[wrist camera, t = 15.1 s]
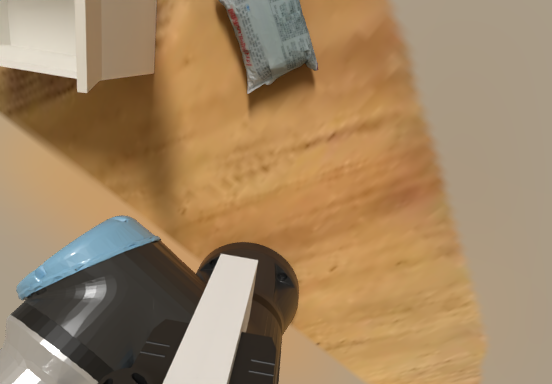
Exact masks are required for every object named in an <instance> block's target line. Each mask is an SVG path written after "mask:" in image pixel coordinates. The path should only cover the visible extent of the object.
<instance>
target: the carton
mask: <svg viewBox="0 0 552 384" xmlns="http://www.w3.org/2000/svg"><path fill="white" fill-rule="evenodd" d="M156 8H157V0H101V20H102V79H101V80H108V79H116V78H123V77H131V76H139V75H146V74H154V62H155V35H156ZM0 66H2V67H8V68H15V69H21V70H27V71H33V72H39V73H45V74H51V75H57V76H63V77H69V78H75V79H77V68H76V35H75V2H74V0H0Z"/></svg>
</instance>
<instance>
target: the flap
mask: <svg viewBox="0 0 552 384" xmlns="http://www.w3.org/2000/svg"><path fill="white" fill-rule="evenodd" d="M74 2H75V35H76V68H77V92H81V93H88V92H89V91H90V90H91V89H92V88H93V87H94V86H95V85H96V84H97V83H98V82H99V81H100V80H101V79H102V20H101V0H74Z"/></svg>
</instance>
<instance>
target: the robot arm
mask: <svg viewBox="0 0 552 384" xmlns="http://www.w3.org/2000/svg"><path fill="white" fill-rule="evenodd" d="M160 240H161V239H160V238H159V237H158V236H155V235H153V234H152V233H151V232H149V231H148V230H147V229H146V228H145V227H143V226H142V225H141V224H140V223H139V222H137V221H136V220H135V219H133V218H131V217H128V216H116V217H113V218H110V219H108V220H106V221H104V222H102V223H101V224H99V225H97V226H96V227H94V228H92V229H91V230H89V231H88V232H86V233H85V234H83V235H81V236H80V237H78V238H77V239H75V240H74V241H73V242H71V243H70V244H68V245H67V246H65V247H64V248H63V249H62V250H60V251H58V252H57V253H56V254H54V255H53V256H52V257H50V258H49V259H48V260H46V261H45V262H44V264H43V265H41V266H39V267H38V268H37V269H36V270H35V271H33V272H32V273H30V274H29V275H27V276H26V277H25V278H24V279H23V280H22V281H21V282H20V283H19V284H18V286H17V290H16V291H17V293H18V296H19V299H21V300H24V299H25V301H24V303H23V304H22V305H20V306H19V307H18V308H17V309H16V310H15V311H14V312H13V313H12V314H11V315H10V316H9V317H8V318H7V323H6V336H5V337H6V338H5V342H4V344H3V347H2V348H1V349H0V384H278V381H279V369H280V356H281V343H282V335H283V334H284V332H285V330H286V329H287V327H288V326H289V324H290V323H291V321H292V319H293V318H294V315H295V313H296V310H297V306H298V298H299V286H298V281H297V277H296V275H295V273H294V271H293V269H292V267H291V266H290V264H289V263H288V262H287V261H286V260H285V259H284V258H283V257H282V256H281V255H279V254H278V253H277V252H275V251H273V250H272V249H270V248H267V247H265V246H262V245H259V244H254V243H246V242H240V243H232V244H228V245H225V246H222V247H220V248H218V249H216V250H214V251H213V252H212V253H210V254H209V255H208V256H207V257H206V258H205V259H204V261H203V262H202V263H201V265H200V267H199V269H198V271H197V273H196V274H195V273H194V272H193V271H192V270H191V269H190V268H189V267H188V266H187V265H186V264H185V263H184V262H182V261H181V260H180V259H179V258H178V257H177V256H176V255H175V254H174V253H173V252H172V251H171V250H170V249H169V248H168V247H167V246H165V244H163V243H162V242H161V241H160Z"/></svg>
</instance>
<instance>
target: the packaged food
mask: <svg viewBox="0 0 552 384" xmlns="http://www.w3.org/2000/svg"><path fill="white" fill-rule="evenodd" d="M219 2H220V3H221V4H222V5H223V6H225V8H226V10H227V13H228V17H229V19H230V21H231V24H232V26H233V29H234V31H235V35H236V37H237V40H238V42H239V44H240V48H241V49H240V50H241V52H242V58H243V60H244V64H245V68H246V70H247V80H248V81H247V84H248V91H247V94H249V93H250V92H252V91H253V90H255V89H256V88H258V87H260V86H261V85H263V84H265V83H266V85H270V84H271V83H273V82H274V81H275V79H277V78H279V77H280V76H282V75H284V74H286V73H287V72H289V71H291V70H293V69H295V68H298V67H300V66H302V65H303V64H304V63H305V64H306V65H307V67H309V68H310V69H313V70H315V71H316V70H318V64H317V61H316V57H315V53H314V50H313V46H312V43H311V39H310V35H309V32H308V29H307V26H306V22H305V19H304V16H303V14H302V9H301V5H300V2H299V0H219Z"/></svg>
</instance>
